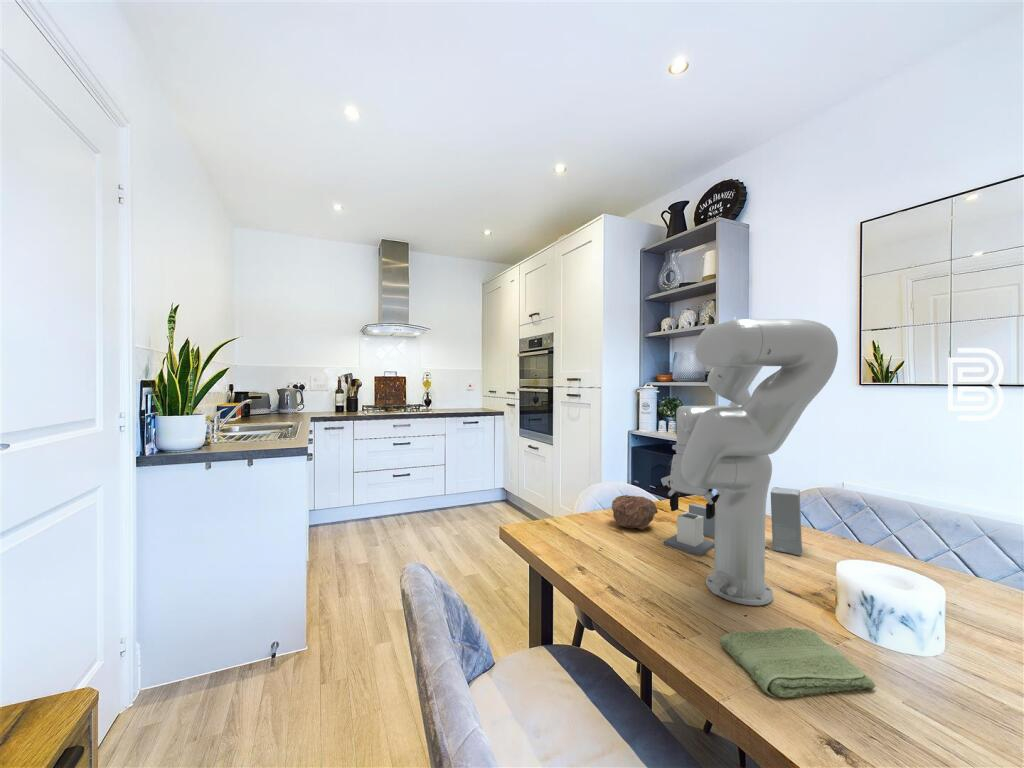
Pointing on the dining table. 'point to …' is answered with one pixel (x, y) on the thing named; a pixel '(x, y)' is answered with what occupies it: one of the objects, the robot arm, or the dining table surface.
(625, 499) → the decorative rock
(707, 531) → the screen
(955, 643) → the dining table surface
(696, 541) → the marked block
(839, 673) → the washcloth
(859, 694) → the dining table surface
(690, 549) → the mat
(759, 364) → the robot arm
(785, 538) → the skincare box
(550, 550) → the dining table surface
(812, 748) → the dining table surface
